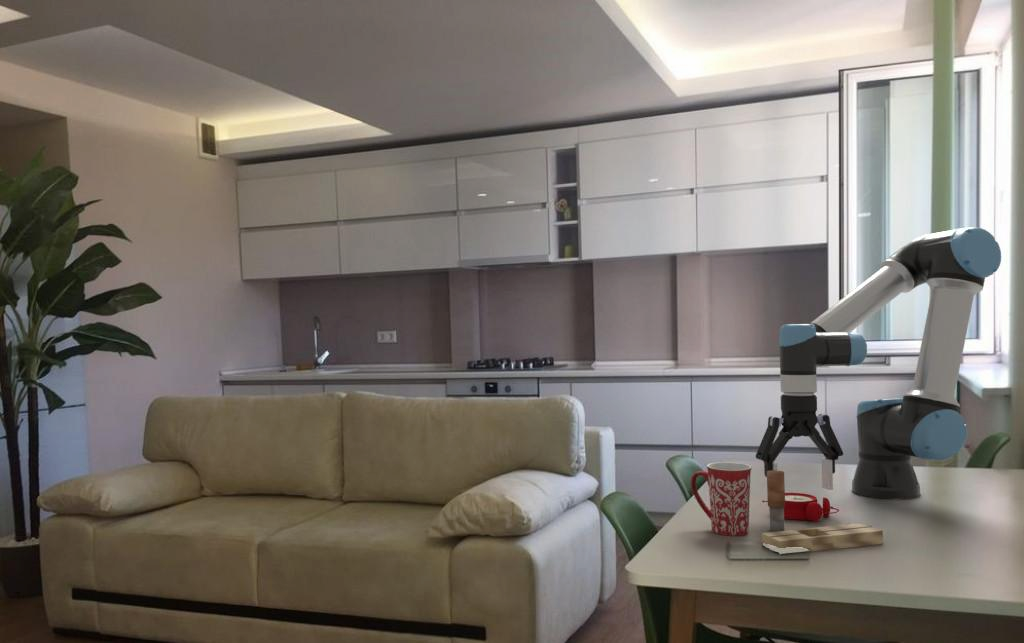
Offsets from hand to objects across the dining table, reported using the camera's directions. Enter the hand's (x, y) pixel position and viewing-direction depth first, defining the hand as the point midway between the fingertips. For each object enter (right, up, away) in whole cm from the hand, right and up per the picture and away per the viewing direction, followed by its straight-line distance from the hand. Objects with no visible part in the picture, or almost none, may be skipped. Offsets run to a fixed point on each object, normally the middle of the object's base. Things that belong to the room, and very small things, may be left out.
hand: (800, 490), depth 170 cm
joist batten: (-4, -5, -23) cm, 24 cm away
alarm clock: (+1, -6, 0) cm, 6 cm away
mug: (-20, -6, -10) cm, 23 cm away
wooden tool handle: (-9, -6, -12) cm, 16 cm away
